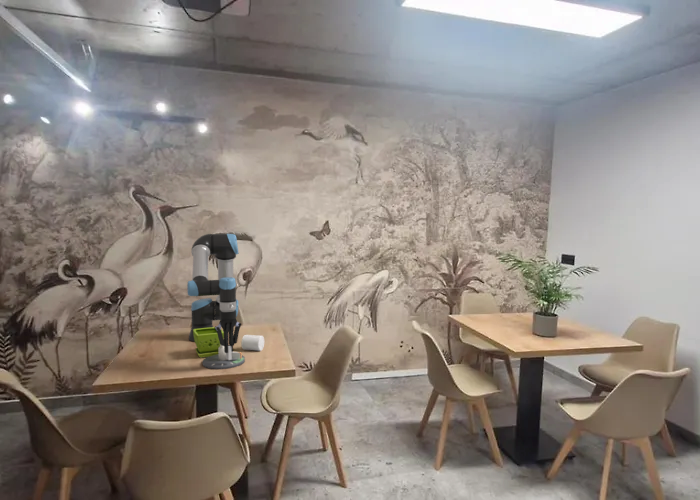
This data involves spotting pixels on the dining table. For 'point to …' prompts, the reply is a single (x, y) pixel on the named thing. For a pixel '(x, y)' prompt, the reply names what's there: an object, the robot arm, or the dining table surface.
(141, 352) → the dining table surface
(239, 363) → the dial
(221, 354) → the white lumpy piece
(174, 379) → the dining table surface
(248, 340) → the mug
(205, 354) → the flower pot
